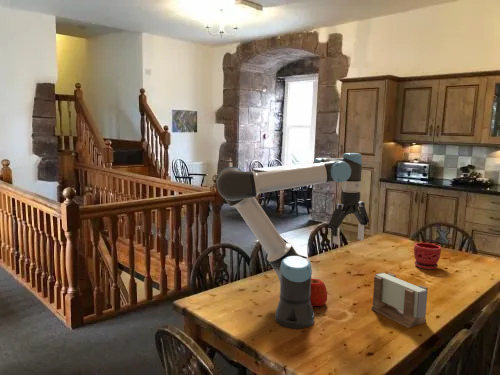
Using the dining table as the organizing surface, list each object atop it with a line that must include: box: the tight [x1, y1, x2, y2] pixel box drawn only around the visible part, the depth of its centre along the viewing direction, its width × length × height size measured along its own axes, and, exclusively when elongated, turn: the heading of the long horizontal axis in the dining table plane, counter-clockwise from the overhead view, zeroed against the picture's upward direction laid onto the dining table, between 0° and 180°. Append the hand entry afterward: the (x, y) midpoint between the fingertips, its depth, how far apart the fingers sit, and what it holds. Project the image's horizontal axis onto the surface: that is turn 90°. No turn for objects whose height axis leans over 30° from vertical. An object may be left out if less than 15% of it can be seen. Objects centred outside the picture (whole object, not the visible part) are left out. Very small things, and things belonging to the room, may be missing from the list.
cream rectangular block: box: [374, 272, 429, 318], centre depth 160 cm, size 4×21×10 cm, turn 30°
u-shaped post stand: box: [371, 272, 429, 329], centre depth 160 cm, size 10×18×14 cm, turn 30°
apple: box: [310, 278, 328, 307], centre depth 171 cm, size 11×11×11 cm
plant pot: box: [413, 242, 442, 270], centre depth 219 cm, size 13×13×12 cm
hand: (348, 241), depth 169 cm, fingers open, 13 cm apart
